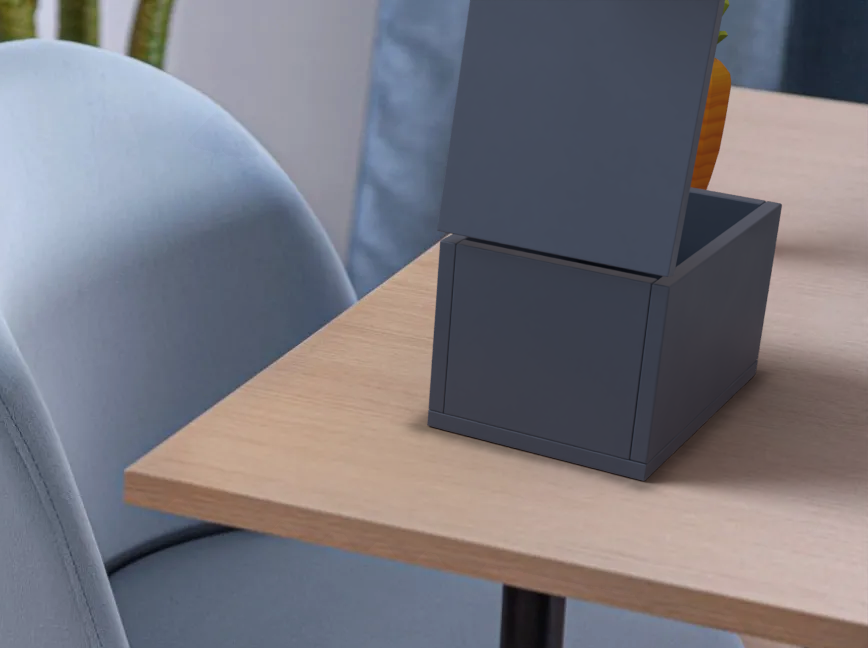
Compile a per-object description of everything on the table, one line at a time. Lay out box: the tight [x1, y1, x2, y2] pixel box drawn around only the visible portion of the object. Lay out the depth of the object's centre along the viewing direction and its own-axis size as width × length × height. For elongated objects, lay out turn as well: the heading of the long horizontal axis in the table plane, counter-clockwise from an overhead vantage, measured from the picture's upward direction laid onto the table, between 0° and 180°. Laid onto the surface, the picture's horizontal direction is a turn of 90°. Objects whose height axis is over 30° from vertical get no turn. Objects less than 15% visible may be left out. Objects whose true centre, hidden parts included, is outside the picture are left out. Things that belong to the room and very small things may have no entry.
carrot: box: [690, 0, 732, 190], centre depth 104 cm, size 5×5×15 cm
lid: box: [436, 0, 725, 277], centre depth 70 cm, size 16×11×5 cm
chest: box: [426, 187, 783, 482], centre depth 83 cm, size 16×11×9 cm
